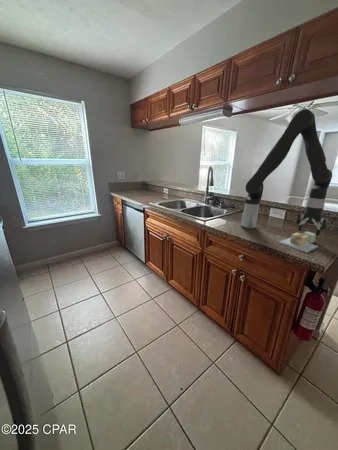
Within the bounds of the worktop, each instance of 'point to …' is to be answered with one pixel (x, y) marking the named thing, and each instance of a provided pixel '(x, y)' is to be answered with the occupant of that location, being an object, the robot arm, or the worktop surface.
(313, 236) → the sage block
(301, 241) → the maple block
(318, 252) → the worktop surface
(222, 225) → the worktop surface
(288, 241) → the board
